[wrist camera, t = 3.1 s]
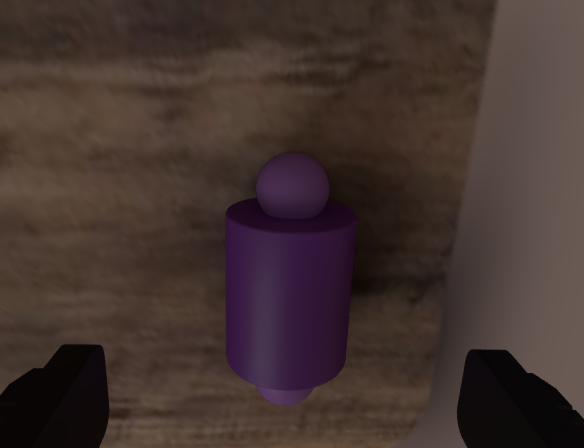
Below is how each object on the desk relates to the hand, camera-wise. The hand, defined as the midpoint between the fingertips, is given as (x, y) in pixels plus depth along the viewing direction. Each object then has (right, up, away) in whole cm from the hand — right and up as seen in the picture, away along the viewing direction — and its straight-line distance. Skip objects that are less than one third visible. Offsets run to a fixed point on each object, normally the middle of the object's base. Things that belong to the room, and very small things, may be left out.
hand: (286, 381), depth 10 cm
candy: (0, +2, +7) cm, 7 cm away
